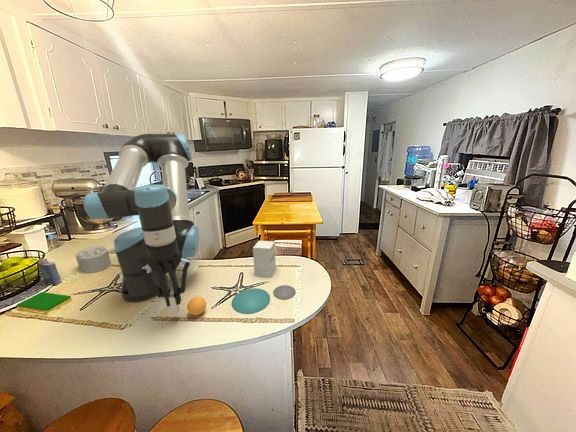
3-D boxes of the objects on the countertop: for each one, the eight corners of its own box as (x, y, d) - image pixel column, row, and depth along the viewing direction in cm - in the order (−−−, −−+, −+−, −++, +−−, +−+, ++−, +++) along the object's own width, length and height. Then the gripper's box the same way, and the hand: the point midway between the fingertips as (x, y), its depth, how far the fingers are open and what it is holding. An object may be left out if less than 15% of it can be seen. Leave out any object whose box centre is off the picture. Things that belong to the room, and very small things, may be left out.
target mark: (233, 318, 69) (233, 317, 68) (229, 293, 80) (229, 293, 80) (274, 307, 72) (274, 307, 72) (265, 285, 84) (265, 285, 84)
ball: (188, 321, 68) (185, 306, 66) (189, 309, 73) (186, 295, 71) (207, 316, 70) (204, 301, 68) (207, 305, 75) (204, 291, 73)
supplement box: (271, 277, 89) (270, 248, 86) (254, 275, 91) (251, 247, 87) (276, 268, 96) (275, 241, 93) (260, 266, 98) (258, 240, 94)
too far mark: (276, 301, 75) (276, 301, 75) (270, 288, 82) (270, 288, 82) (298, 296, 78) (298, 295, 78) (291, 283, 85) (291, 283, 85)
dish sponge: (49, 315, 73) (46, 309, 72) (18, 310, 76) (15, 304, 75) (73, 301, 79) (71, 295, 79) (43, 297, 82) (41, 291, 81)
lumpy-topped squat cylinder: (105, 258, 109) (100, 242, 107) (116, 265, 102) (111, 248, 100) (77, 268, 101) (71, 250, 99) (87, 276, 94) (81, 258, 92)
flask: (63, 282, 91) (54, 258, 87) (54, 286, 88) (44, 261, 85) (51, 278, 94) (41, 255, 91) (41, 281, 91) (31, 258, 88)
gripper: (129, 250, 56) (148, 327, 63) (185, 243, 60) (198, 316, 66) (139, 240, 63) (155, 310, 70) (188, 234, 67) (199, 301, 73)
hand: (176, 313), depth 68 cm, fingers closed
